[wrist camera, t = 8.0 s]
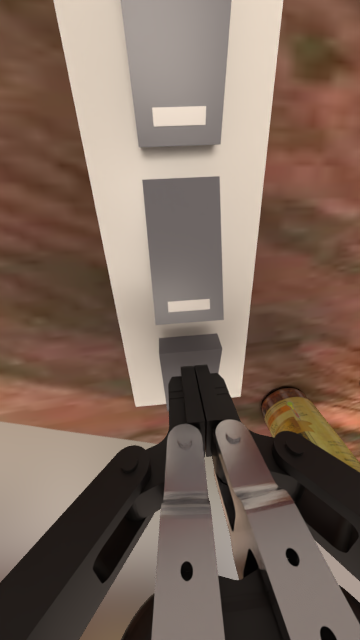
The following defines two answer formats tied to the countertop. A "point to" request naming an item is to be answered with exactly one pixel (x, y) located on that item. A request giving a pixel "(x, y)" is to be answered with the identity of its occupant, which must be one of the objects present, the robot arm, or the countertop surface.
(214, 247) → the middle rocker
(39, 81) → the countertop surface
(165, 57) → the plate
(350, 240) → the countertop surface
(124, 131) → the switch console
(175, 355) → the far rocker
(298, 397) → the sauce bottle
